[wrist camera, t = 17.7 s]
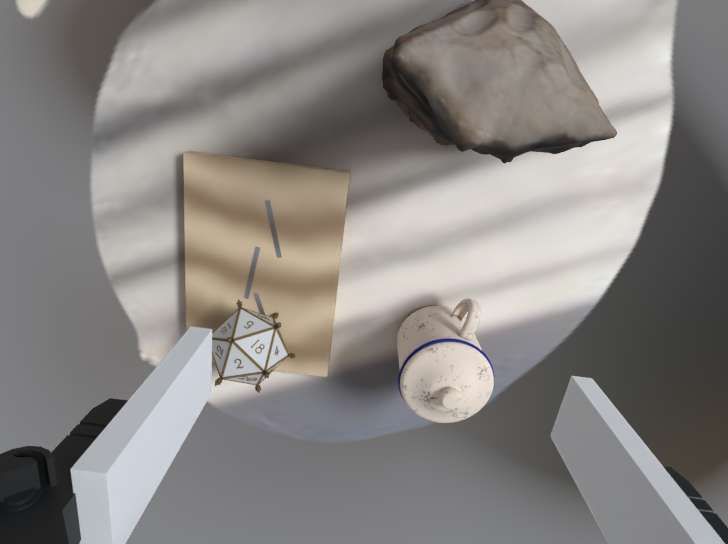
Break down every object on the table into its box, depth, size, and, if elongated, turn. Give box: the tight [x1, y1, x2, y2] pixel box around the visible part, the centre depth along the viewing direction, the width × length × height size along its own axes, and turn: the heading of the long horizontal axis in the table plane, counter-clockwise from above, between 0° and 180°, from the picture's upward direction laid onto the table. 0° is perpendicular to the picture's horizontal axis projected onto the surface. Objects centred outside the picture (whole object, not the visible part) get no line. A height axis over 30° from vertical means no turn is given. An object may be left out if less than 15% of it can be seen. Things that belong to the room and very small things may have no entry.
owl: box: [382, 0, 617, 163], centre depth 32 cm, size 13×13×20 cm
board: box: [183, 151, 350, 377], centre depth 47 cm, size 23×16×2 cm
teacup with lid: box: [397, 299, 494, 423], centre depth 44 cm, size 12×9×12 cm
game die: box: [212, 299, 297, 392], centre depth 44 cm, size 9×8×10 cm
